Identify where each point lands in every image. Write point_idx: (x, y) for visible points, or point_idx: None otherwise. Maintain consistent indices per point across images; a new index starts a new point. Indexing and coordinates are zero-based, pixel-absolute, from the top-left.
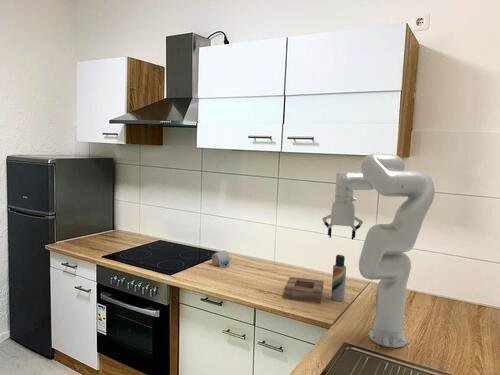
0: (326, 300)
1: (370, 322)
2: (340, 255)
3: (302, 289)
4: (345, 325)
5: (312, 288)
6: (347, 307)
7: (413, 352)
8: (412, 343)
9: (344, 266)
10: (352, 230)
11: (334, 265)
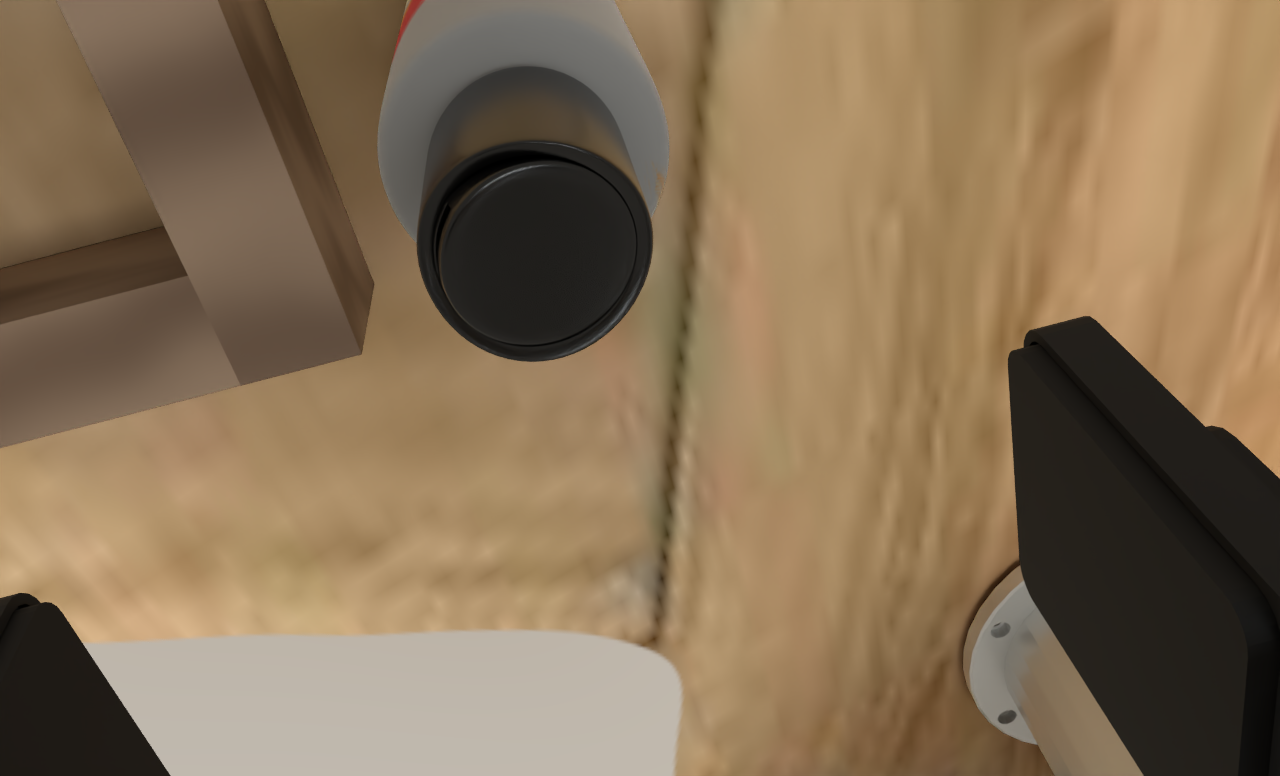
0: None
1: (967, 432)
2: (528, 218)
3: (92, 402)
4: (763, 602)
5: (183, 287)
6: (695, 206)
7: None
8: None
9: (635, 153)
10: (1253, 757)
11: (415, 202)
